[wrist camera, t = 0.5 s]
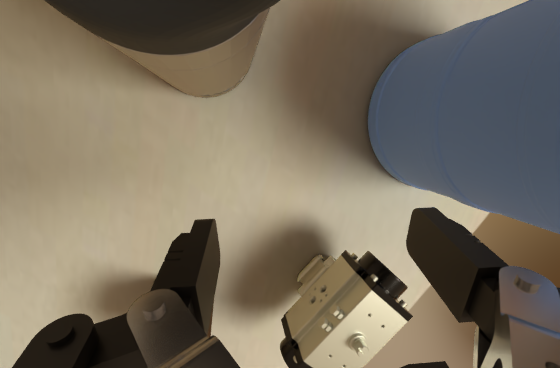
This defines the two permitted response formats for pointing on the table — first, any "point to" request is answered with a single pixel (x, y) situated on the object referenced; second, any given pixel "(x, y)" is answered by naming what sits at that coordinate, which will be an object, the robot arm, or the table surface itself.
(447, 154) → the water jug
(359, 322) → the pneumatic valve
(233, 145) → the table surface
